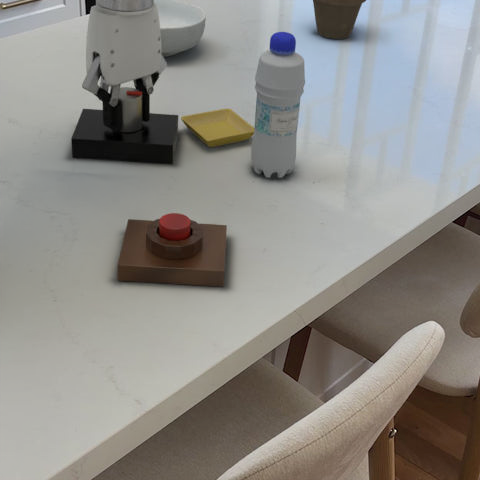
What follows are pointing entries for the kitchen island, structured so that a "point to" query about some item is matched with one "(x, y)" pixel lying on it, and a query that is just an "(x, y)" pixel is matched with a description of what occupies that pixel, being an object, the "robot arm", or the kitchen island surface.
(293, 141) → the bottle
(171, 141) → the black knob base
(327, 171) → the kitchen island surface
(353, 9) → the flower pot
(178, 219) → the button
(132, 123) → the dial knob
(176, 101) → the kitchen island surface
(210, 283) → the button block
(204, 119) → the saucer
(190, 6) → the cereal bowl
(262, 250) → the kitchen island surface
